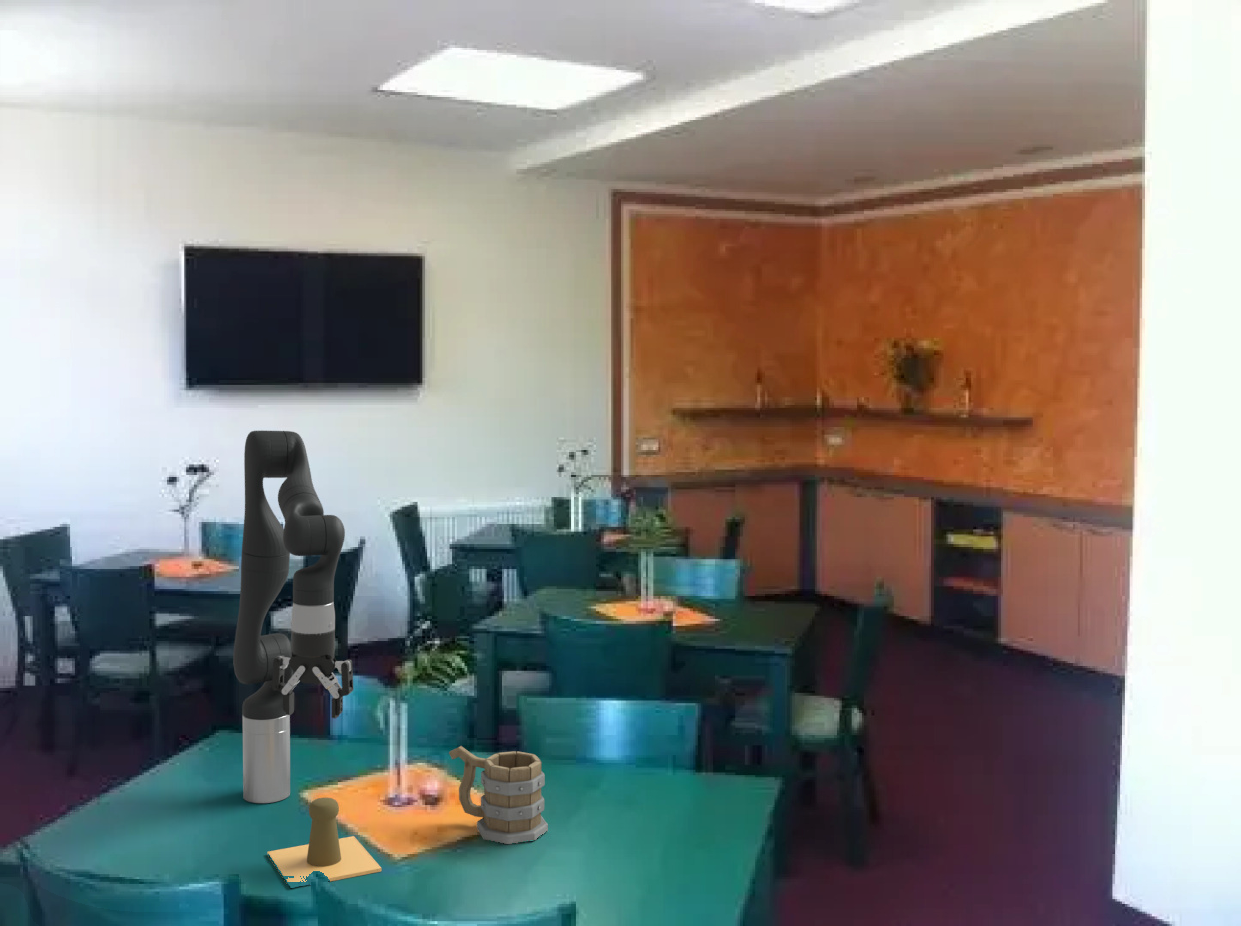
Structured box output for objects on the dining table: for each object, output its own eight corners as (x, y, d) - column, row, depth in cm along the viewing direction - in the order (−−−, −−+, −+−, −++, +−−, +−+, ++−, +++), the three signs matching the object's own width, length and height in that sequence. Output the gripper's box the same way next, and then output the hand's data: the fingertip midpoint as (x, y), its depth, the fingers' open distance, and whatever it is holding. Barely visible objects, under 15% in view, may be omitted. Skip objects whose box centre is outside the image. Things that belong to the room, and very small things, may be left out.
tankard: (556, 825, 242) (557, 750, 241) (524, 849, 231) (525, 770, 230) (468, 807, 251) (469, 735, 249) (433, 829, 239) (434, 753, 238)
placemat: (267, 855, 226) (267, 851, 226) (353, 839, 234) (353, 836, 234) (290, 889, 212) (290, 886, 212) (381, 871, 220) (381, 868, 220)
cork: (332, 868, 219) (332, 807, 218) (300, 864, 221) (300, 804, 220) (347, 854, 225) (346, 795, 224) (315, 851, 227) (315, 792, 226)
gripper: (359, 624, 225) (358, 712, 226) (283, 619, 226) (282, 706, 228) (344, 634, 217) (343, 725, 219) (266, 629, 219) (265, 719, 221)
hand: (312, 715), depth 224 cm, fingers open, 8 cm apart
